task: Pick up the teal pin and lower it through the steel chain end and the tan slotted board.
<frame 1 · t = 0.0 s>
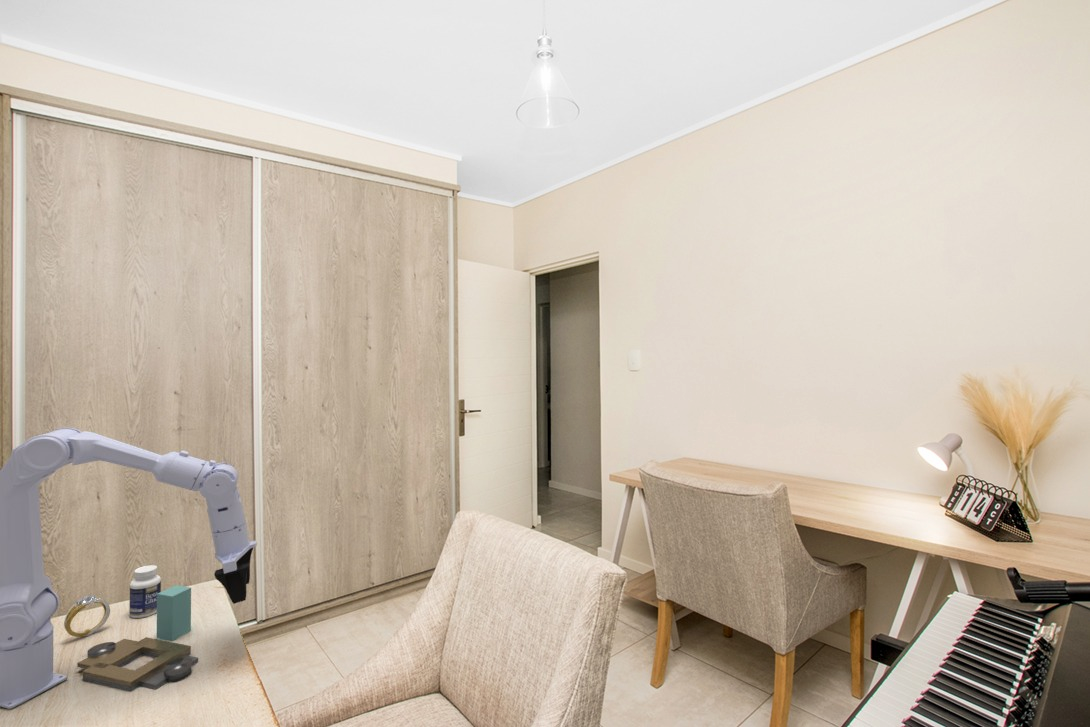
hand: (241, 592, 99), 11 cm above the table, tool pointing down, fingers open, 7 cm apart
teal pin: (173, 634, 103), on the table
tan slotted board: (138, 666, 92), on the table
ring: (87, 636, 102), on the table
pill bottle: (145, 613, 111), on the table
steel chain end: (150, 663, 91), in the tan slotted board
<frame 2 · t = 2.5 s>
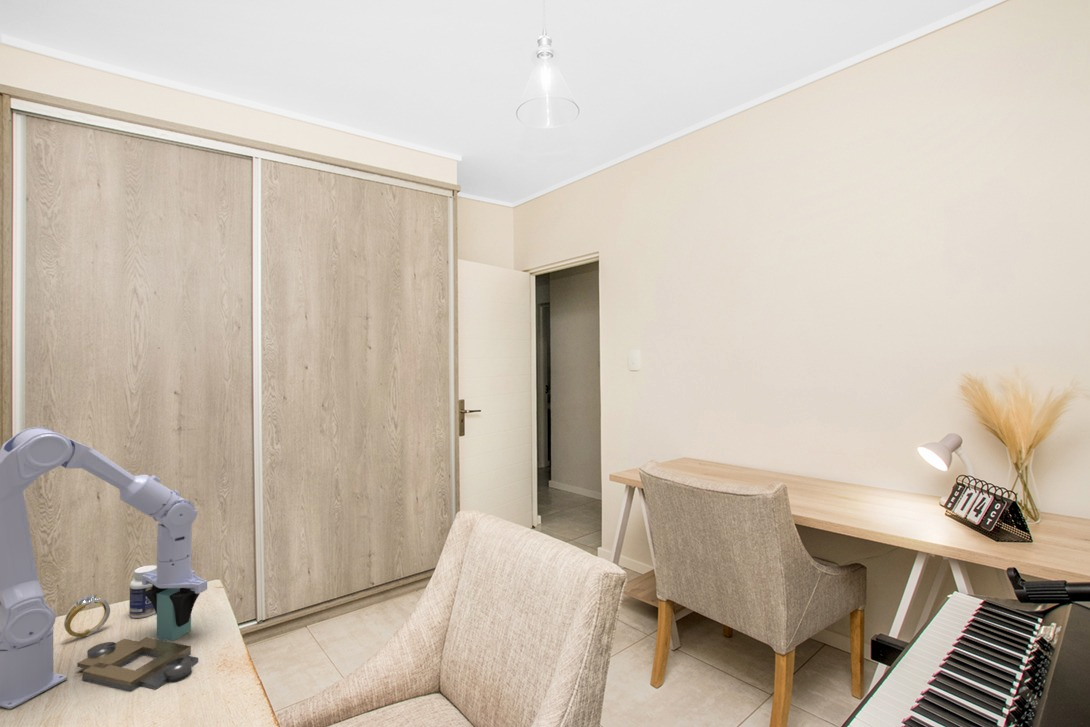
hand: (174, 622, 103), 2 cm above the table, tool pointing down, fingers closed on teal pin, 4 cm apart
teal pin: (173, 634, 103), on the table, touching gripper
everything else where it was.
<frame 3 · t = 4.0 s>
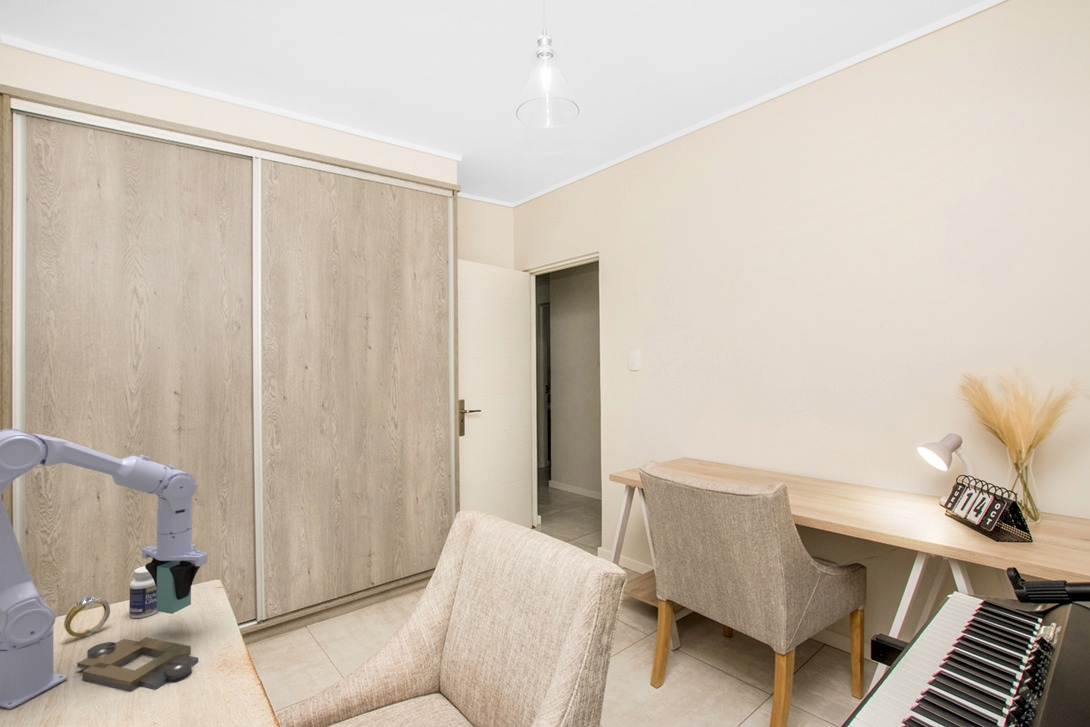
hand: (174, 595, 102), 8 cm above the table, tool pointing down, fingers closed on teal pin, 4 cm apart
teal pin: (173, 607, 102), point 5 cm above the table, touching gripper
everything else where it was.
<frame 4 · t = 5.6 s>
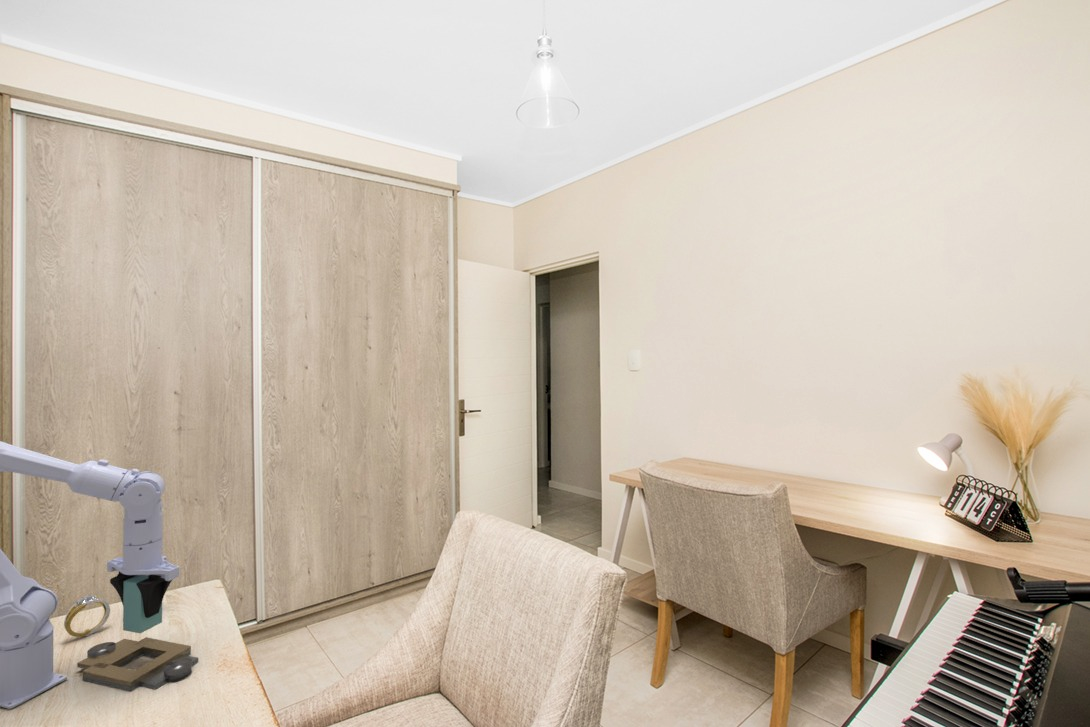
hand: (142, 613, 93), 9 cm above the table, tool pointing down, fingers closed on teal pin, 4 cm apart
teal pin: (142, 626, 93), point 7 cm above the table, touching gripper
everything else where it was.
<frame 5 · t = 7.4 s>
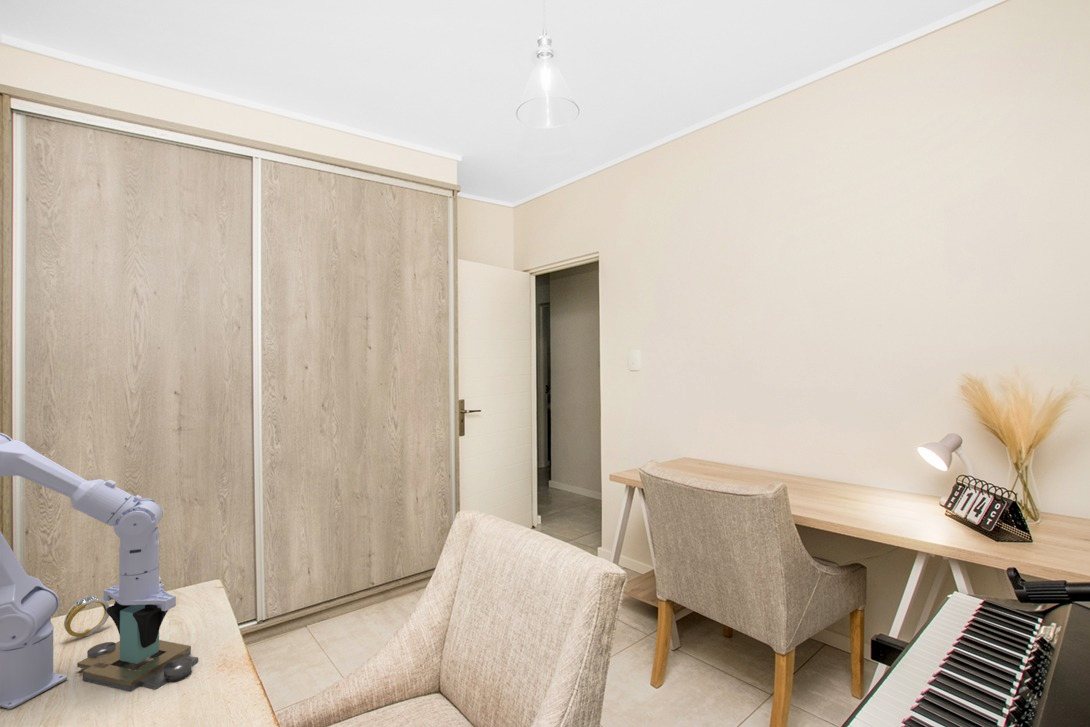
hand: (139, 642, 92), 4 cm above the table, tool pointing down, fingers closed on teal pin, 4 cm apart
teal pin: (139, 655, 92), point 2 cm above the table, touching gripper
everything else where it was.
when the fingers open (3 cm above the table, at t = 8.8 s): teal pin stays where it is, resting in tan slotted board.
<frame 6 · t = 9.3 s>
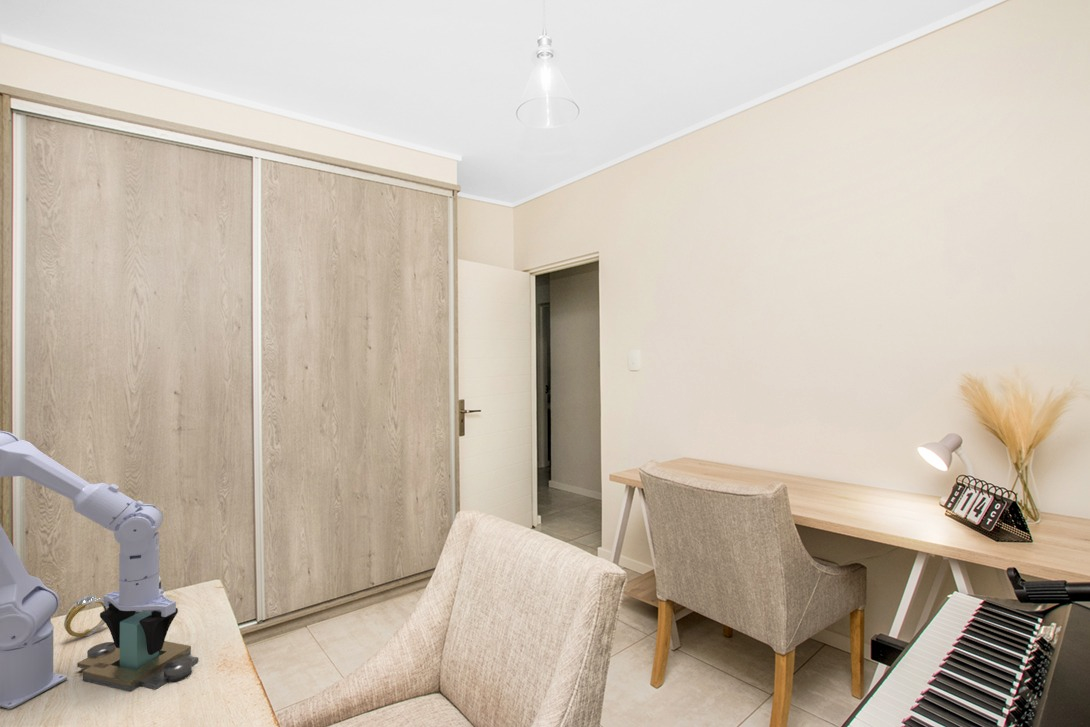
hand: (139, 648, 92), 3 cm above the table, tool pointing down, fingers open, 7 cm apart
teal pin: (139, 666, 92), resting in tan slotted board
everything else where it was.
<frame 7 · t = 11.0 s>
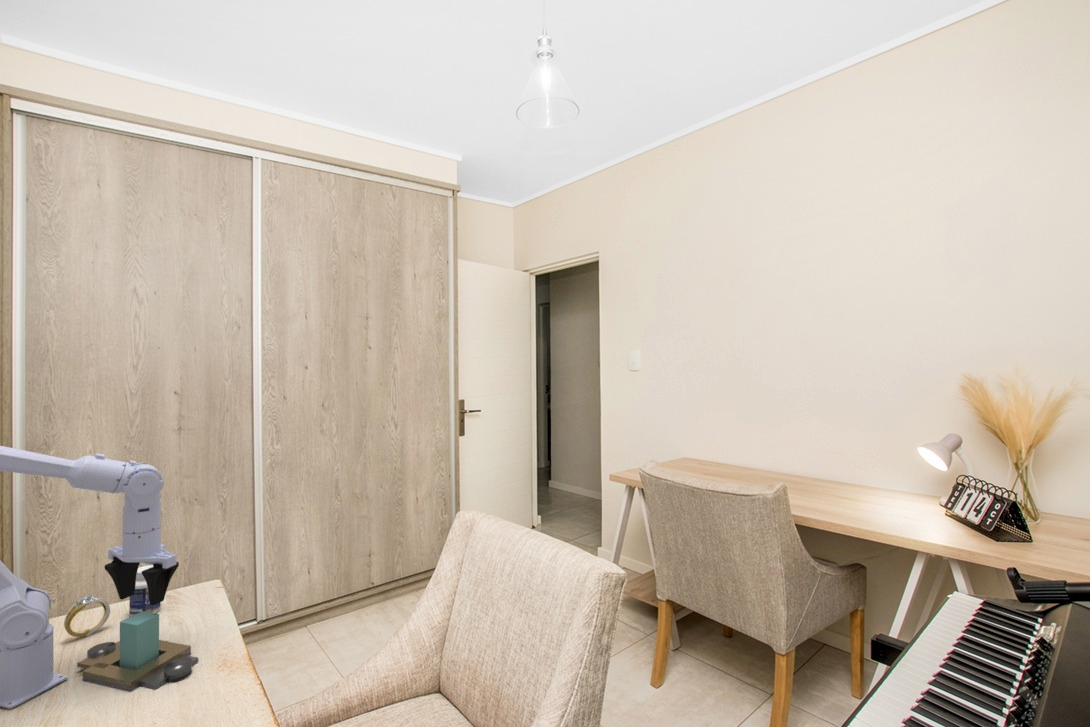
hand: (141, 599, 96), 10 cm above the table, tool pointing down, fingers open, 7 cm apart
nothing on the table moved.
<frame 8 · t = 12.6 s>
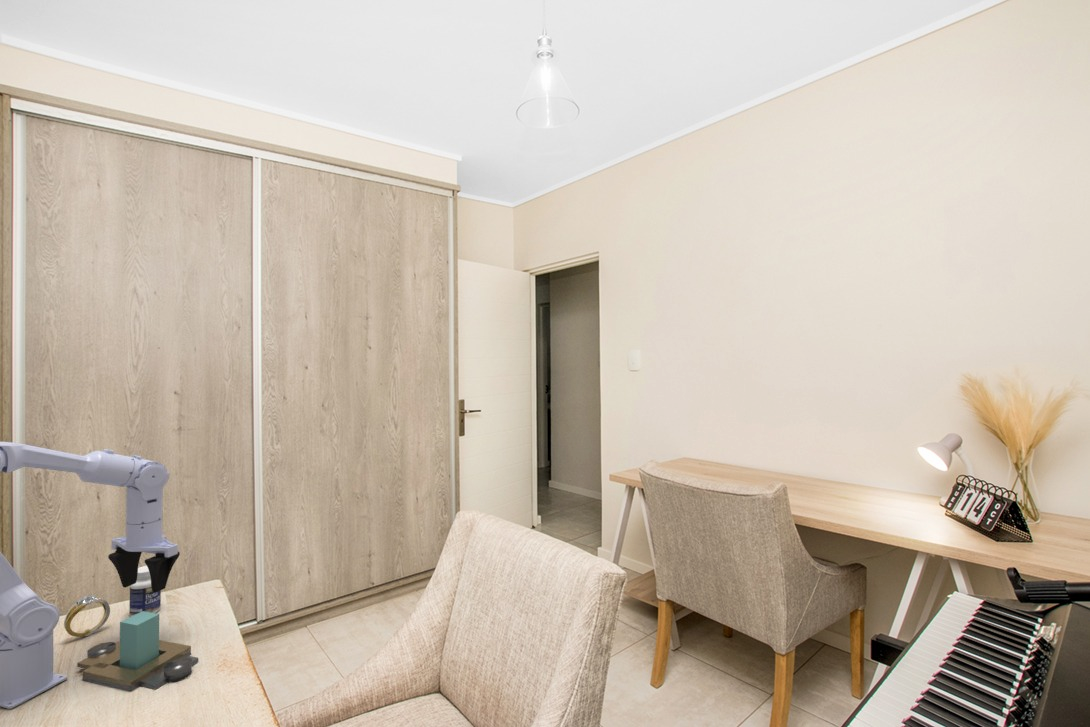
hand: (144, 587, 100), 10 cm above the table, tool pointing down, fingers open, 7 cm apart
nothing on the table moved.
at the end: teal pin 0.1 cm off-centre on the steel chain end, point 0.0 cm above the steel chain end's base; teal pin tilted 0°; the gripper is holding nothing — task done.
